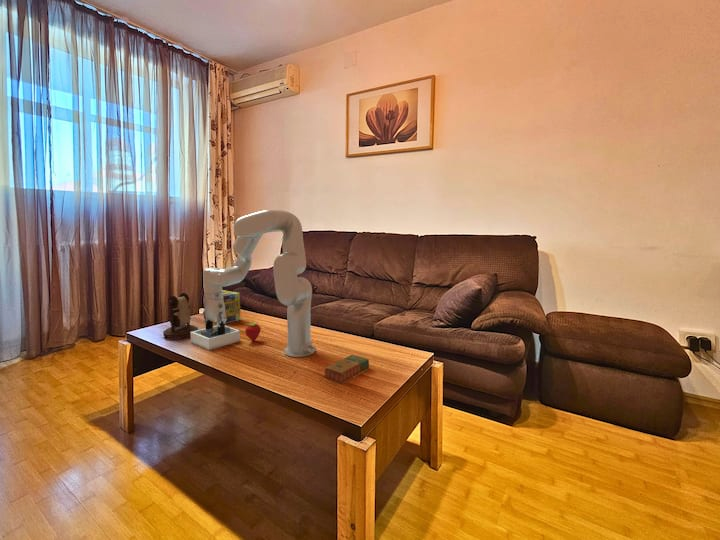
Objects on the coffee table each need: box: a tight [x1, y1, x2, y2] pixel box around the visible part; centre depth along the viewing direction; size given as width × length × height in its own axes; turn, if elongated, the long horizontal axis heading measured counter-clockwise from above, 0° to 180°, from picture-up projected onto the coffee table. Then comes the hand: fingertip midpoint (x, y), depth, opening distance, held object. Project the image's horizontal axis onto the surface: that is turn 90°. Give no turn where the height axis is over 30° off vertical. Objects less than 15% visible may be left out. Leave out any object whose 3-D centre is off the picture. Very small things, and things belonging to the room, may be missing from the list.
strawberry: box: [244, 320, 262, 342], centre depth 157 cm, size 6×8×10 cm
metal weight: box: [201, 325, 230, 338], centre depth 156 cm, size 6×10×5 cm, turn 150°
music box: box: [163, 292, 199, 340], centre depth 164 cm, size 15×15×20 cm
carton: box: [324, 354, 370, 385], centre depth 126 cm, size 8×16×4 cm, turn 144°
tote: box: [190, 324, 241, 351], centre depth 156 cm, size 15×15×5 cm
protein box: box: [219, 289, 242, 325], centre depth 190 cm, size 10×15×16 cm
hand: (215, 332), depth 156 cm, fingers open, 9 cm apart
